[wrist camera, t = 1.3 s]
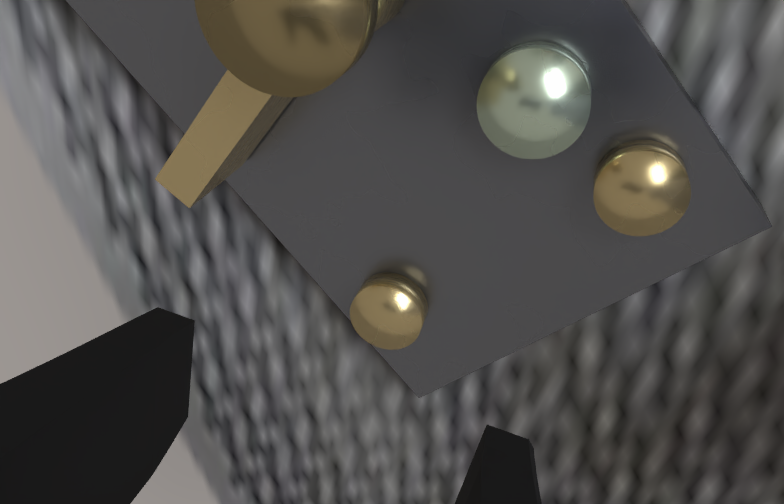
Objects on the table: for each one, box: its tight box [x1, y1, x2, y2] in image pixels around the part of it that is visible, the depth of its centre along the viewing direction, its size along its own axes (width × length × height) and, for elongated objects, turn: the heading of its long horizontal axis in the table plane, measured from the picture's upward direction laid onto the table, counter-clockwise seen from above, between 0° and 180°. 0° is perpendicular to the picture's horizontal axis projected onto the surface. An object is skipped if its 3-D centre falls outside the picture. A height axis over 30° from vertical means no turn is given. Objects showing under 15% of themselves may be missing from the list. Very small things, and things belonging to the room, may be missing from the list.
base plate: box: [66, 0, 772, 398], centre depth 16 cm, size 16×10×3 cm, turn 41°
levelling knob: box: [155, 0, 405, 208], centre depth 14 cm, size 7×3×4 cm, turn 141°
